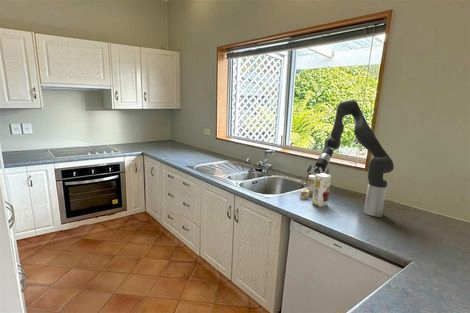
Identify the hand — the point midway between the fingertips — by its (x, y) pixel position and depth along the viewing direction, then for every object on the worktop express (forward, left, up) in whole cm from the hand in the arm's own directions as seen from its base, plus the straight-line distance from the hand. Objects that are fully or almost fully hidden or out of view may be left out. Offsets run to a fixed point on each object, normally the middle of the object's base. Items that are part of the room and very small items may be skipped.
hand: (313, 179), depth 178 cm
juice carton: (-8, +17, -10) cm, 21 cm away
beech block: (+3, +11, -10) cm, 15 cm away
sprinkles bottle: (+1, +3, -10) cm, 11 cm away
